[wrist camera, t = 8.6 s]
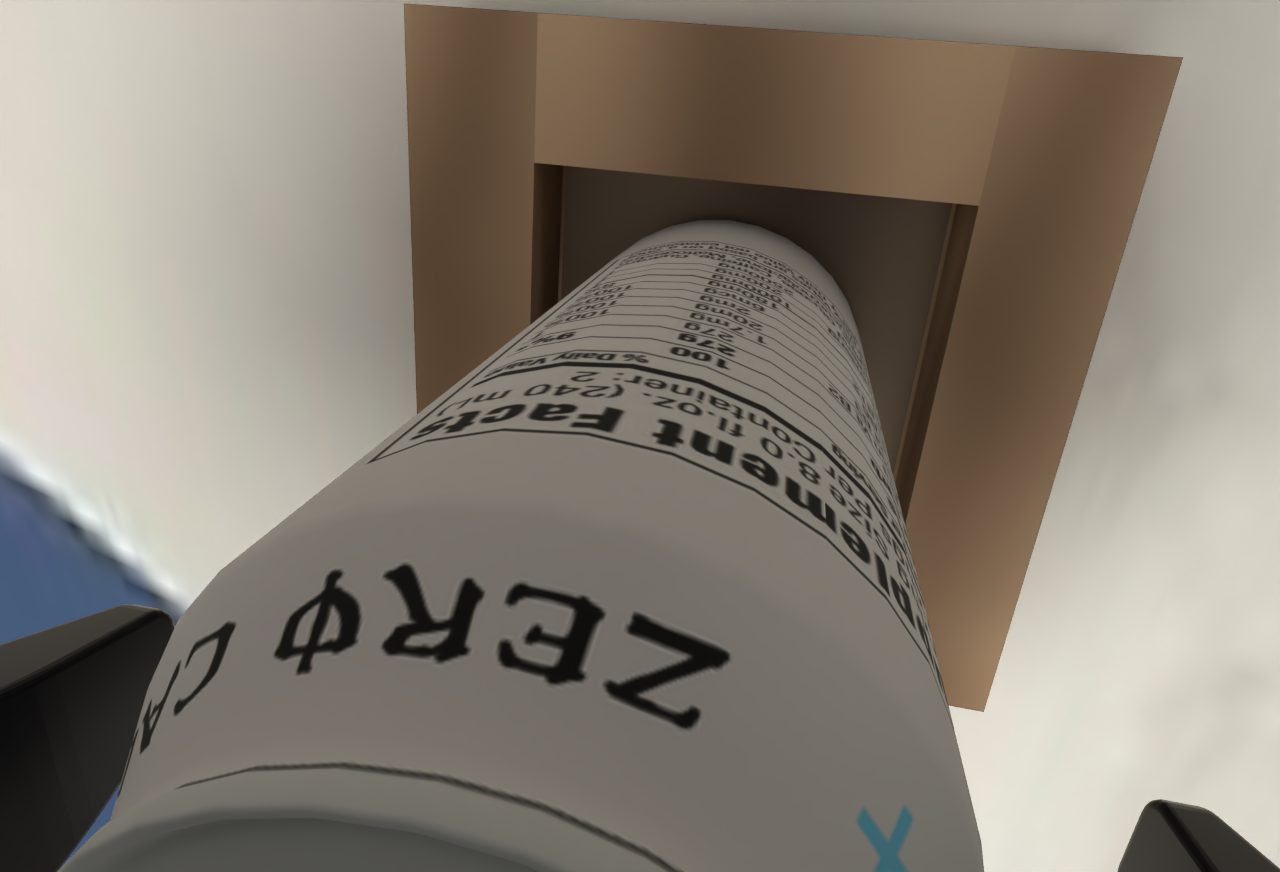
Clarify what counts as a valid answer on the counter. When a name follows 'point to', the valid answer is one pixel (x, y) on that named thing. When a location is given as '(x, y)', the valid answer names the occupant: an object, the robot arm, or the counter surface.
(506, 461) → the energy drink can
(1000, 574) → the socket block
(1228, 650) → the counter surface
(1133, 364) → the counter surface
